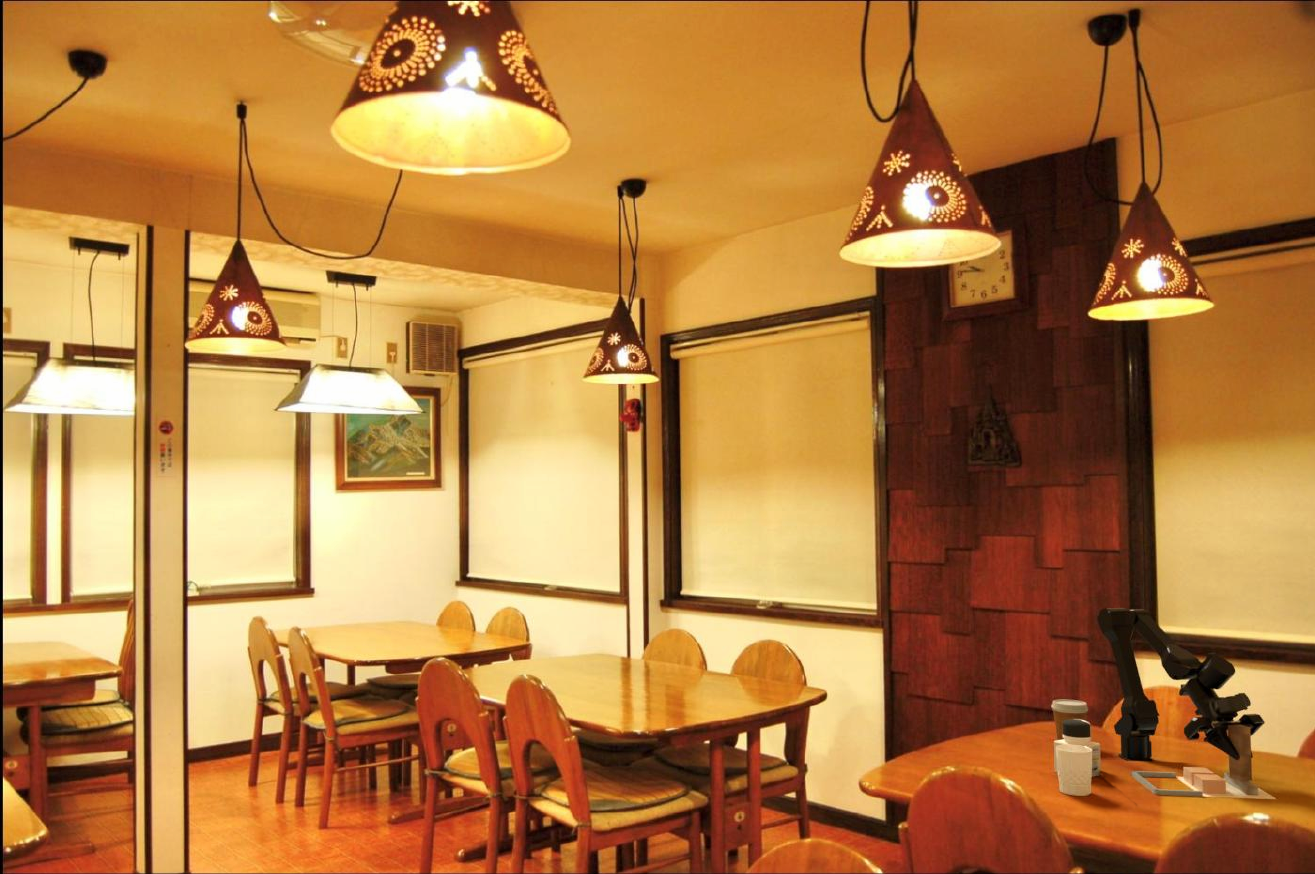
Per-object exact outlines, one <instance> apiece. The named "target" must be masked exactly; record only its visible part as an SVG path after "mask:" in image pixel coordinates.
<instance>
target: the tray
mask: <svg viewBox="0 0 1315 874" xmlns="http://www.w3.org/2000/svg"><path fill="white" fill-rule="evenodd" d="M1130 776H1131V777H1133V778H1134V779H1135V780H1136V781H1138V782H1139V783H1140V784H1142V785H1143V786H1144V787H1145V788H1146V789H1148V790H1149V791H1151V793H1153V794H1154V795H1155V796H1174V797H1175V796H1178V797H1199V798H1200V797H1203V792H1202V791H1194V790H1188V789H1187V790H1186V789H1162V788H1161V789H1160V788H1157V787H1156V786H1155V785H1153V784H1152V783H1151V782H1149V781H1148V780H1147V779H1146V778H1144V777H1148V778H1173V779H1174V778H1176V777H1177V773H1176V772H1175V771H1174V772H1173V771H1147V770H1131V771H1130ZM1176 779H1177V778H1176ZM1203 798H1204V797H1203Z"/></svg>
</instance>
